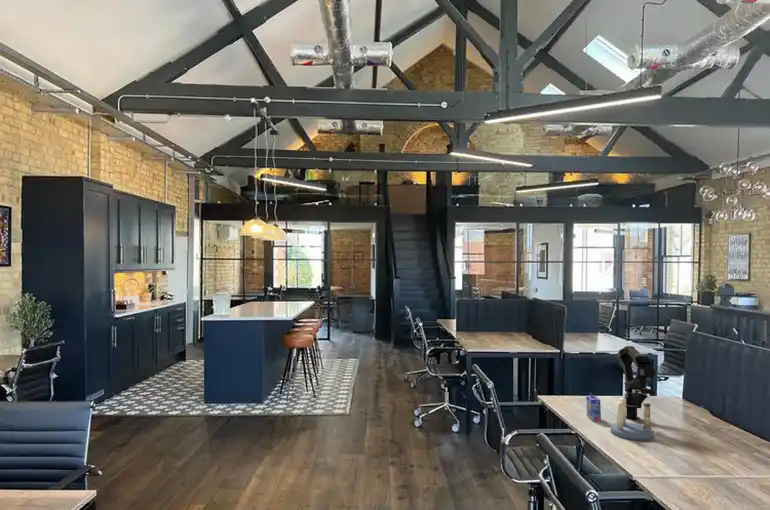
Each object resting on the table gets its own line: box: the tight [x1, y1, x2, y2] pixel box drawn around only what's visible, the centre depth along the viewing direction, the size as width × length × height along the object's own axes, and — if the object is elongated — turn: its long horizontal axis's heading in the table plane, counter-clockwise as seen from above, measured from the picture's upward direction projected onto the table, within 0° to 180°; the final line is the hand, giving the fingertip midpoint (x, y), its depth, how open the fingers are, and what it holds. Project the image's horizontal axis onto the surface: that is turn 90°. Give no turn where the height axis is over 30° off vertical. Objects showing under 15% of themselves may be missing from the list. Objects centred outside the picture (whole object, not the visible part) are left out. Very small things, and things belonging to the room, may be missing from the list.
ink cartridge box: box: [585, 392, 602, 422], centre depth 292 cm, size 10×6×14 cm, turn 174°
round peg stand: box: [610, 397, 655, 442], centre depth 265 cm, size 20×20×16 cm
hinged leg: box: [642, 402, 651, 430], centre depth 261 cm, size 3×3×13 cm
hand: (637, 407), depth 275 cm, fingers closed
